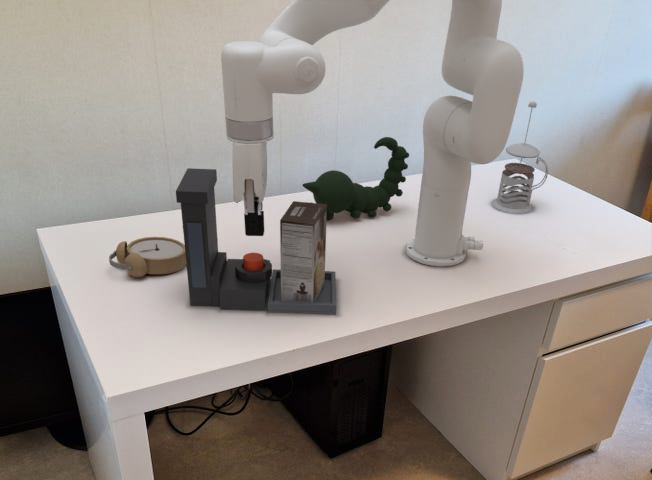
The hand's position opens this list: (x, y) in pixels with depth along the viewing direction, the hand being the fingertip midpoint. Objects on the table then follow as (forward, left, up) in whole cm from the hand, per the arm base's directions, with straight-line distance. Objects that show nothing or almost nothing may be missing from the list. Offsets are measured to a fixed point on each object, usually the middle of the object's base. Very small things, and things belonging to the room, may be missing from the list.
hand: (255, 233), depth 116 cm
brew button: (0, 0, -6) cm, 6 cm away
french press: (-60, -49, -12) cm, 78 cm away
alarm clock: (+22, -10, -12) cm, 27 cm away
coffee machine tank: (+9, 0, -12) cm, 15 cm away
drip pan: (-9, 0, -12) cm, 15 cm away
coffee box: (-9, 0, -12) cm, 14 cm away
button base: (+2, 0, -12) cm, 12 cm away
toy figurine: (-19, -39, -12) cm, 45 cm away
